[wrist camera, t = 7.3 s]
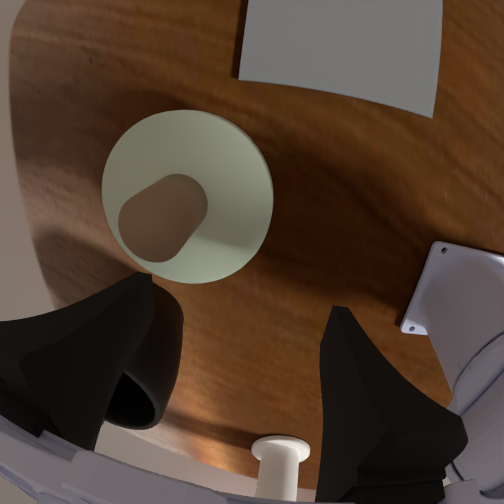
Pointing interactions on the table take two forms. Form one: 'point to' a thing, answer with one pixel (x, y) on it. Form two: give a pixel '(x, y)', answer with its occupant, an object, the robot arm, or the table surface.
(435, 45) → the mat
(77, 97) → the table surface
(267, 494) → the candle
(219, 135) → the lid
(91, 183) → the table surface
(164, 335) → the mug
